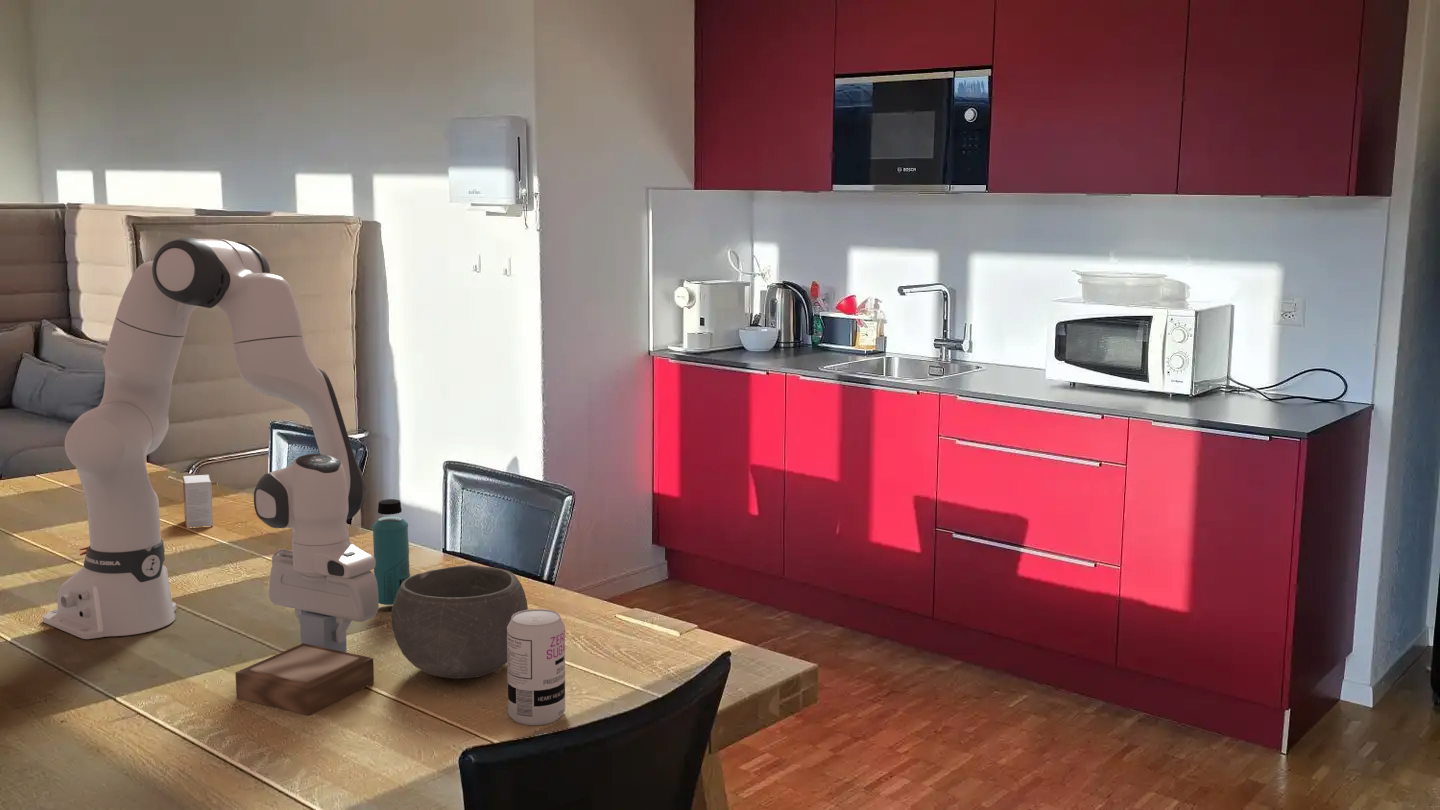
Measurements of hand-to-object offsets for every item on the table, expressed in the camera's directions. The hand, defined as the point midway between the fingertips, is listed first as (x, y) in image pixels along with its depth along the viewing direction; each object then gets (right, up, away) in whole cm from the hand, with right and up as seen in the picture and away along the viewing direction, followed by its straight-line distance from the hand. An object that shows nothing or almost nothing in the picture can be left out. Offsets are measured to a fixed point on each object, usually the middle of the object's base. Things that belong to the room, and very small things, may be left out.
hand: (323, 638), depth 207 cm
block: (0, -3, 0) cm, 3 cm away
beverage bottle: (+5, +1, +25) cm, 25 cm away
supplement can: (+38, -7, -22) cm, 45 cm away
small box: (-53, +11, +79) cm, 96 cm away
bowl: (+24, -5, -6) cm, 25 cm away
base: (+2, -5, -14) cm, 15 cm away
